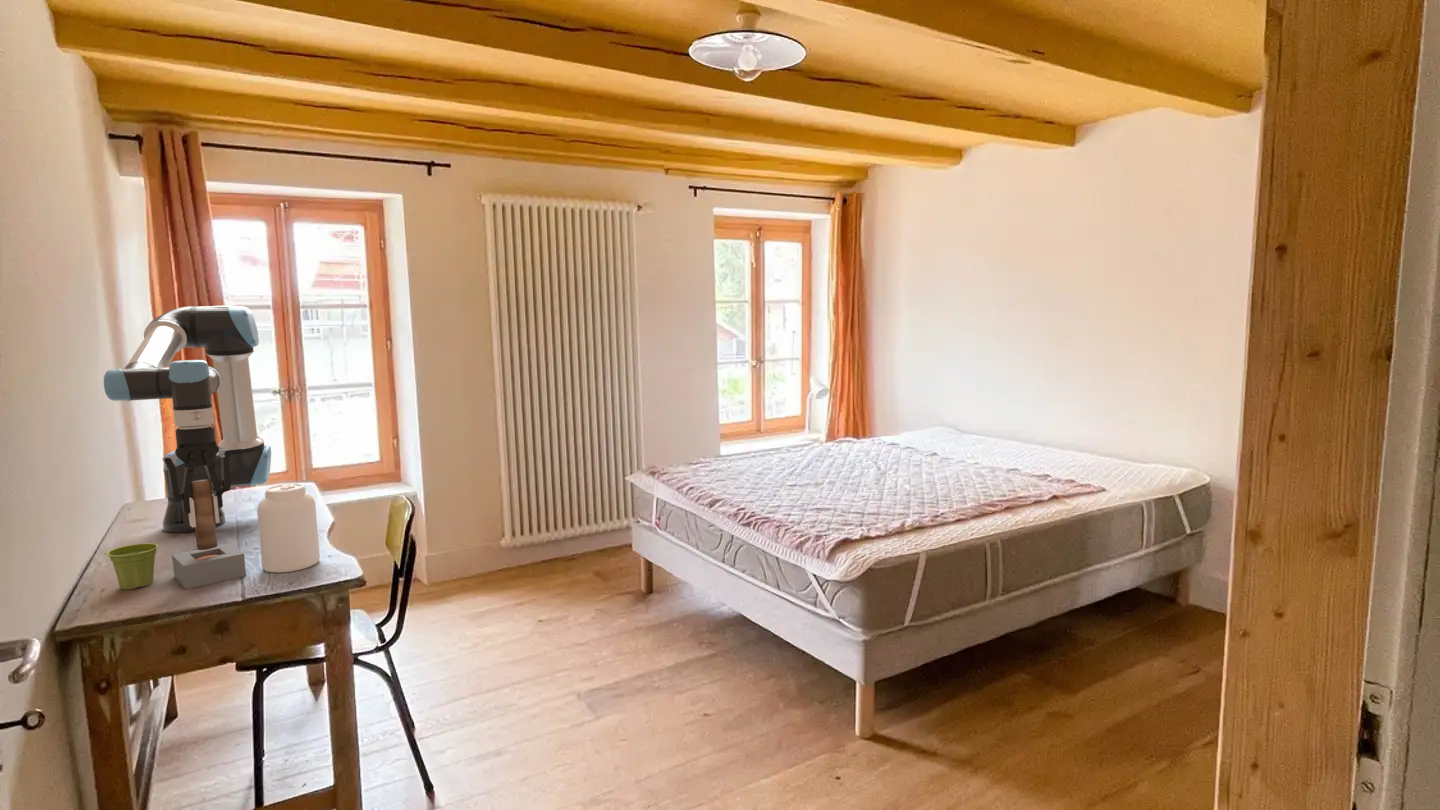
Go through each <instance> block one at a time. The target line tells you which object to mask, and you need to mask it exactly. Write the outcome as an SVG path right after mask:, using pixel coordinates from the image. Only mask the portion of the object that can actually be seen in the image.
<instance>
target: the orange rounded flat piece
mask: <svg viewBox="0 0 1440 810" xmlns="http://www.w3.org/2000/svg"><path fill="white" fill-rule="evenodd" d="M213 556H218V555H207V556H203V557H200V558H197V559H196V560H198V559H203V558H208V557H213Z"/></svg>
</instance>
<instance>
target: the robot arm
mask: <svg viewBox="0 0 1440 810" xmlns="http://www.w3.org/2000/svg"><path fill="white" fill-rule="evenodd" d="M259 343H260V341H259V331H258V328H257V324H256V321H255V317H254V315H253V313H252V311H251V309H249V308H248V307H245V306H239V305H207V306H204V305H203V306H199V305H198V306H191V305H189V306H188V305H187V306H181V307H177V308H173V309H171V310H168V311H166V312H164V313H162V314H160V315H158V316H157V317H156V318H153V320H151V322H149V323H148V325H147V326H146V327H145V328H144V332H143V340H142V341H141V343H140V344H139V346H138V348H137V349H136V350H135V352H134V354H133V356H132V357H131V358H130V360H129V361H128V363H127V364H126V365H125V367H124V368H120V367H119V368H116V369H113V368H112V369H108V370H107V371H106V372H105V373H104V376H103V388H104V392H105V395H106V397H107V398H108V399H109V400H110V401H114V402H115V401H116V402H118V401H123V402H125V401H127V402H131V401H142V400H143V401H146V400H147V401H148V400H162V399H163V400H164V399H171V400H172V408H173V409H172V411H173V420H174V426H175V427H176V430H175V441H176V449H175V450H173V451H170V452H168V453H167V454H165V456H163V457H162V462H163V472H164V479H165V481H164V482H165V489H166V495H167V496H166V497H167V507H166V510H165V513H164V516H163V519H162V529H163V532H167V533H189V532H195V527H196V518H195V508H194V500H193V499H192V495H191V484H192V482H193V481H197V480H211V488H212V498H213V508H214V518H215V527H217V526H220V525H223V524H225V522H226V515H225V512H224V510H223V506H224V503H223V494H224V493H227V492H230V491H231V488H239V487H240V488H241V487H252V486H258V485H259V486H260V485H264V484H266V483H267V482H268V480H269V477H270V471H271V466H272V447H271V446H270V445H267V444H266V445H265V441H264V438H263V437H260V435H258V433H257V432H258V431H257V424H256V423H257V422H256V413H255V406H254V398H253V397H254V396H253V395H254V394H253V389H252V387H253V386H252V379H251V369H250V361H249V357H251V355H252V354H253V353H254V351H255V350H254V348H255V347H257V346H259ZM190 348H191V349H192V348H193V349H194V348H205V355H206V356H208V357H209V358H210V359H212V361H213V366H209V364H208V362H207V361H206V360H204V359H184V360H174V361H173V359H174V358H175V356H176V353H179V352H180V351H182V350H183V349H190ZM216 392H217V399H218V400H217V401H218V408H219V409H218V410H219V417H220V423H221V429H222V430H221V431H222V438H223V439H222V440H220V442H219V443H217V440H216V430H215V427H214V426H213V424H214V421H215V420H214V412H213V411H214V410H213V403H212V402H213V401H212V395H213V394H215V393H216Z"/></svg>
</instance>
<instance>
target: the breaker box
mask: <svg viewBox="0 0 1440 810" xmlns="http://www.w3.org/2000/svg"><path fill="white" fill-rule="evenodd" d="M207 555H218V556H213V557H208V558H203V559H198V560H196V559H197V558H200V557H203V556H207ZM171 558H172V568H173V569H172V571H173V577H174V578H175V580H177V581H178V582H179V584H180V585H181V586H182V587H183V588H184V589H185V590H190V589H194V588H198V587H203V586H207V585H210V584H215V583H220V582H225V581H229V580H232V579H237V578H242V577H246V576H247V571H246V561H245V552H244V551H243V552H242V551H241V550H240V549H239V548H237V546H235V545H233V544H232V543H230V542H229V543H228V542H227V543H223V544H222V543H221V544H217V547H215V548H212V549H207V550H198V549H194V550H188V551H183V552H178V553H174V554H171Z"/></svg>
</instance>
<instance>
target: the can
mask: <svg viewBox="0 0 1440 810" xmlns="http://www.w3.org/2000/svg"><path fill="white" fill-rule="evenodd" d="M256 513H257V523H258V533H259V535H258V536H259V544H260V556H261V567H262V568H263V570H264V571H265V572H268V573H277V574H279V573H291V572H296V571H300V570H301V571H302V570H304V569H307V568H310V567H312V566H314V565H315V566H316V564H318V563H319V561H320V557H321V555H320V553H321V552H320V544H319V543H320V541H319V532H318V531H319V529H318V521H317V506H316V500H315V497H314V496H313V495H311V494H310V493H308V492H307V491H306V486H305V485H303V484H298V483H286V484H279V485H273V486H271V487H268V488H267V489H266V490H265V492H264V497H263V498H262V499H261V500H260V501H259V502H258V505H257V510H256Z"/></svg>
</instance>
